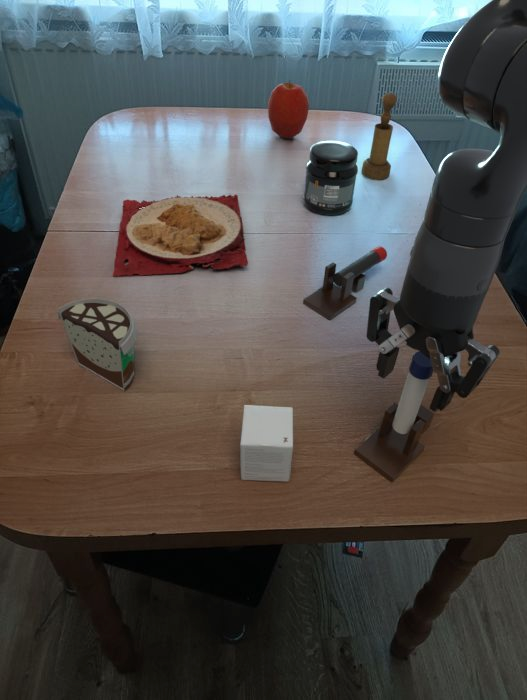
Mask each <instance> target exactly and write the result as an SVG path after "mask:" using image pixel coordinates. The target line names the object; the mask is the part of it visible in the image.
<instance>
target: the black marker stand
mask: <svg viewBox="0 0 527 700" xmlns="http://www.w3.org/2000/svg"><path fill="white" fill-rule="evenodd" d="M336 271H337V263H335V262H331V263H329V264H327V265H326V266H325V267H324V275H323V282H322V286H321V287H320V288H318V289H317V290H315V291H314V292H312V293H310V294H309V295H307V296H306V297H304V298H303V300H302V304H303V305H305V306H306V307H308V308H309V309H311V310H313V311H314V312H316V313H317V314H319V315H321V316H322V317H323V318H325V319H327V320H329V321H332V320H333V319H334V318H335V317H337V316H339V315H340V314H342V313H343V312H344V311H346V310H347V309H349V308H350V307H352V306H354V305H355V304H356V303H357V300H358V297H357V296H355V295H353V294H352V292H353V293H355V294H358V293H359V292H360V291H361V290H363V289H364V286H365V285H364V284H365V281H366V274H364V273H362V274H360V275H359V276H357V277H356V278H354V275H355V274H353V273H351V272H350V273H349V274H347V275H346V276H344V277H343V283H342V287H339V286H337V285H336V284H335V283H334V281H333V275H334V274H336Z"/></svg>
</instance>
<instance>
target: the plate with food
mask: <svg viewBox="0 0 527 700" xmlns="http://www.w3.org/2000/svg"><path fill="white" fill-rule="evenodd" d="M142 207H145V208H142ZM139 208H142V209H139ZM243 224H244V223H243V218H242V215H241V209H240V203H239V195H238V194H234V195H231V194H228V195H227V196H226V195H225V194H223V195H220V196H212V195H211V196H210V197H209V196H207V195H206V196H193V195H192V196H191V197H189V196H180V195H176V196H175V197H174V196H173V197H172V196H171V197H168V198H164V199H161V200H152V201H151V200H150V201H147V200H144V199H143V200H141V202H139V201H138V200H136V199H132V200H131V199H124V200H123V201H122V215H121V221H120V222H119V229H118V238H117V246H116V250H115V258H114V265H113V266H114V267H113V273H112V276H115V277H116V276H117V277H121V276H129V277H132V276H133V275H139V276H150V275H151V276H152V275H162V274H163V275H164V274H165V275H167V274H181V273H186V272H188V271H192V270H194V269H195V267H194V265H193V264H196V266H199V265H200V264H201V265H202V267H203V268H208V267H210V266H211V269H212V270H224V269H230V268H234V267H236V266H241V268H244V267H246V266H248V264H249V261H248V256H247V253H246V243H245V236H244V234H245V231H244V225H243ZM126 260H127V261H128V263H126V264H125V261H126Z"/></svg>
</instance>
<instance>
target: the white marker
mask: <svg viewBox="0 0 527 700" xmlns="http://www.w3.org/2000/svg"><path fill="white" fill-rule="evenodd" d="M433 374H434V371H433V367H432V362H431V359H429V358H427V357H426V356H424V355H423V354H422V353H421V352H420V351H418V350H417V351H415V352H414V353H413V355H412V358H411V362H410V364H409V367H408V374H407V376H406V379H405V382H404V386H403V389H402V393H401V396H400V398H399V402H398V408H397V411H396V414H395V417H394V421H393V424H392V426H393V428H394V430H395V431H396V432H398V433H400V434H409V433H410V430H411V428H412V427H413V424H414V421H415V419H416V416H417V413H418V410H419V407H420V405H422V402H423V399H424V396H425V393H426V391H427V389H428V388H427V387H428V385H429V383H430V381H431V380H430V379H431V378H432V377H433Z"/></svg>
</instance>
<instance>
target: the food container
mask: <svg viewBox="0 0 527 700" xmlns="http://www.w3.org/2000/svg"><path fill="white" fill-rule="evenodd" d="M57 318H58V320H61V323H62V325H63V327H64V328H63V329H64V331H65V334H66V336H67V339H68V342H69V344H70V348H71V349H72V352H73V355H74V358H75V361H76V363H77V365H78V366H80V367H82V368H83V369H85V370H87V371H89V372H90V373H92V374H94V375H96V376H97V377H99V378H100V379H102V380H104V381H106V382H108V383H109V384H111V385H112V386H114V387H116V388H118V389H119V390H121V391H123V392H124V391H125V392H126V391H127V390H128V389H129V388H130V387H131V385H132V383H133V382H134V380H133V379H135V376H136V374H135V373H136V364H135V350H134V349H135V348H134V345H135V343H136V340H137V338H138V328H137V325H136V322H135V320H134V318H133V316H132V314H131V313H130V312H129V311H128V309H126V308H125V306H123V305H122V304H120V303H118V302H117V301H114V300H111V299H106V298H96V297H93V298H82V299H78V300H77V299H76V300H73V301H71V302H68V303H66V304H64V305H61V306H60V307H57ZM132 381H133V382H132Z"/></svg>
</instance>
